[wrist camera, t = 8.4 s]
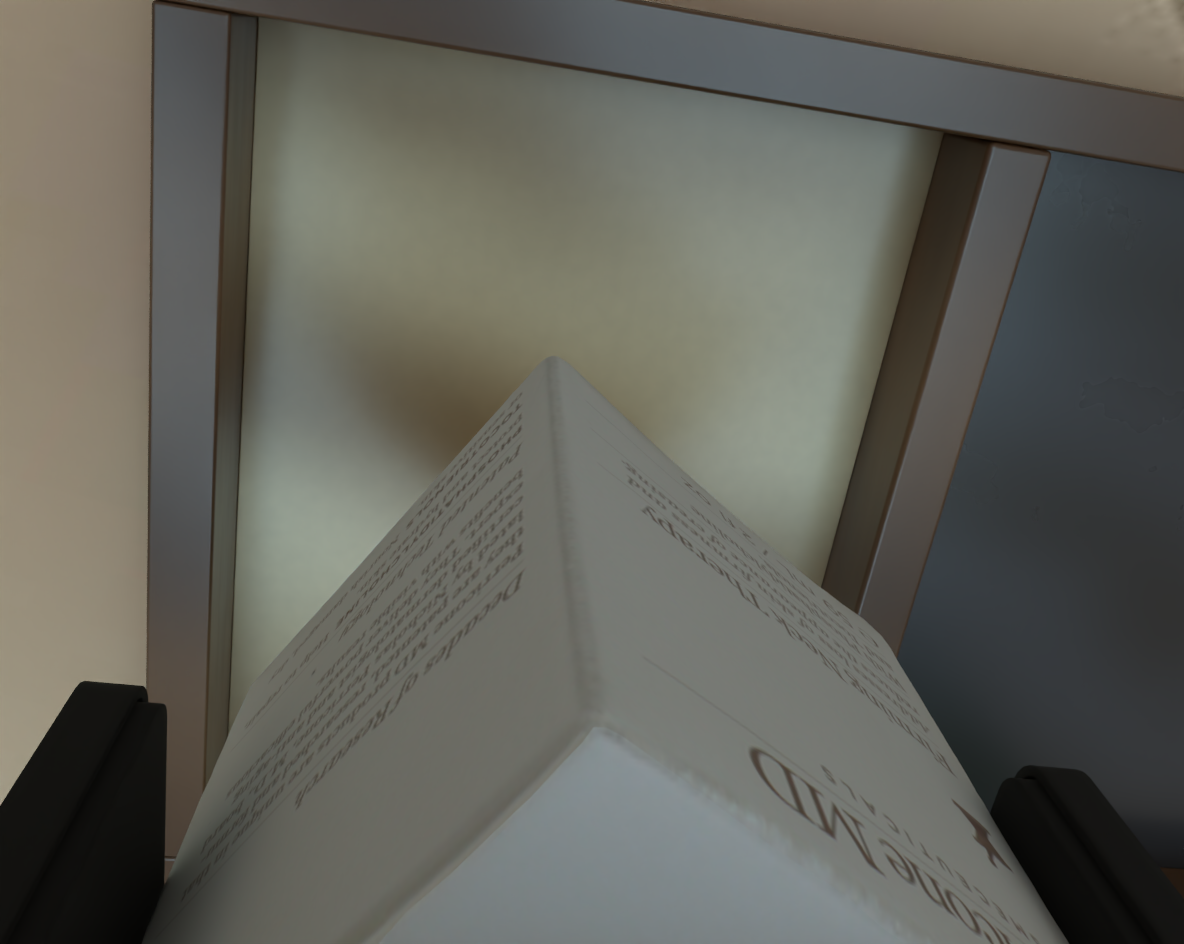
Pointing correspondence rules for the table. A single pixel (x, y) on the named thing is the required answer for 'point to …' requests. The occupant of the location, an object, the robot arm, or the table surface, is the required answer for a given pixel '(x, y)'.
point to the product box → (587, 733)
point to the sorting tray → (681, 337)
